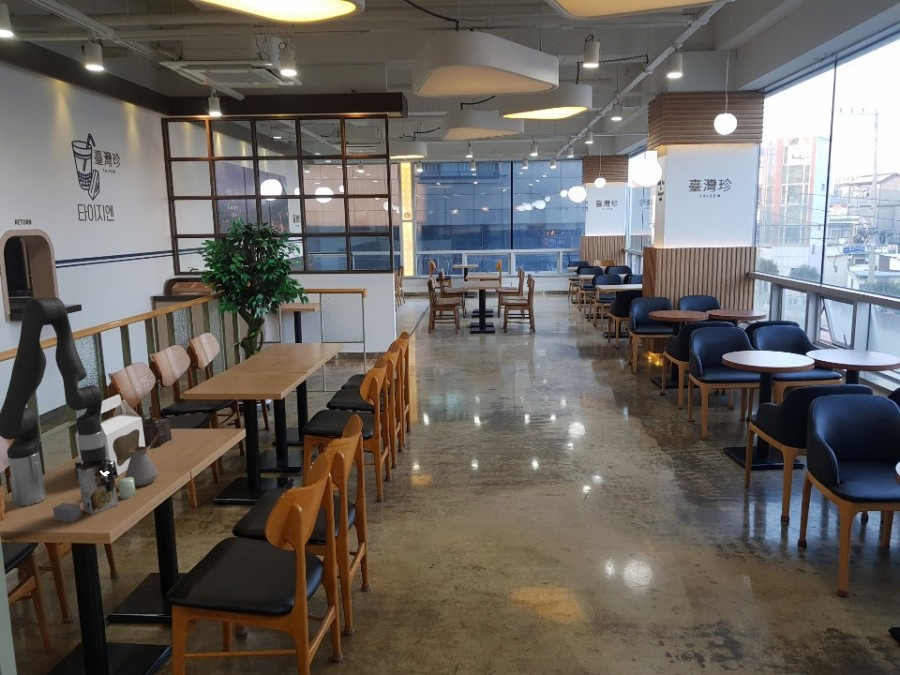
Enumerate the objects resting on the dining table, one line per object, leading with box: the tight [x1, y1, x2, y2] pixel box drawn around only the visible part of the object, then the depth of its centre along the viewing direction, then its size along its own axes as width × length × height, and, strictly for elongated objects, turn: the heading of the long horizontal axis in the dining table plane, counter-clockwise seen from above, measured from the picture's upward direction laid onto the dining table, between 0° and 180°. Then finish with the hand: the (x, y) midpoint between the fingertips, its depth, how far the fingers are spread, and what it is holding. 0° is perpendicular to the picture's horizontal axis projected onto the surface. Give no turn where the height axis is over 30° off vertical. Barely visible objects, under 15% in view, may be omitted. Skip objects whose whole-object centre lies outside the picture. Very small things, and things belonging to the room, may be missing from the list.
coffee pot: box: [124, 431, 165, 487], centre depth 258 cm, size 21×12×15 cm, turn 170°
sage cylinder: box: [117, 477, 137, 500], centre depth 242 cm, size 5×5×6 cm
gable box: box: [74, 394, 145, 476], centre depth 268 cm, size 22×13×28 cm, turn 170°
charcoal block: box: [52, 502, 83, 523], centre depth 226 cm, size 7×4×4 cm, turn 75°
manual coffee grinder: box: [133, 406, 173, 448], centre depth 295 cm, size 16×11×18 cm
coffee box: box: [77, 459, 119, 515], centre depth 232 cm, size 9×6×16 cm
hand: (99, 490), depth 232 cm, fingers open, 8 cm apart
